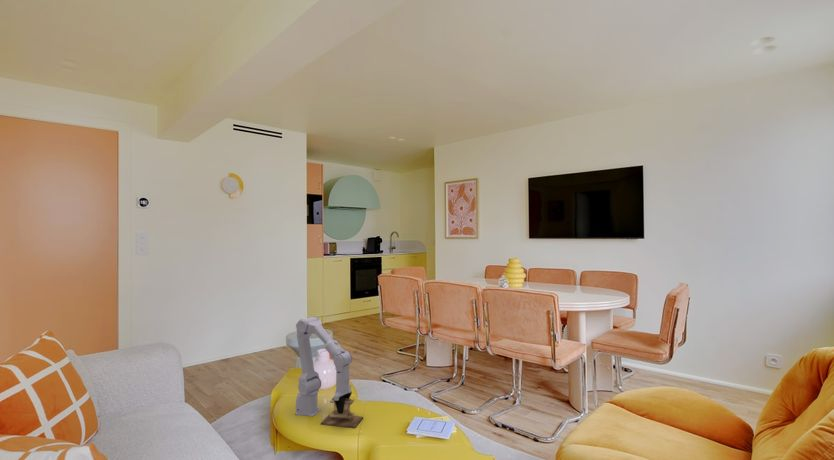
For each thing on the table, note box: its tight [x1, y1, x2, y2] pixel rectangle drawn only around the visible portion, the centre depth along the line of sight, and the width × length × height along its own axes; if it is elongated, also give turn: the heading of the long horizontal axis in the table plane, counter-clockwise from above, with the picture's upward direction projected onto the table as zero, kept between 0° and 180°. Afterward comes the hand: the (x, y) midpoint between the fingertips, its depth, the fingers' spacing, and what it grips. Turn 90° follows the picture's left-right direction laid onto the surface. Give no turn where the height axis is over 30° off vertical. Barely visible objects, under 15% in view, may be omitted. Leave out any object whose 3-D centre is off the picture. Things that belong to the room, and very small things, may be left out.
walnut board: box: [320, 412, 364, 429], centre depth 176 cm, size 16×10×1 cm, turn 78°
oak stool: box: [329, 397, 355, 419], centre depth 177 cm, size 4×10×7 cm, turn 78°
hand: (342, 411), depth 177 cm, fingers closed on oak stool, 4 cm apart
